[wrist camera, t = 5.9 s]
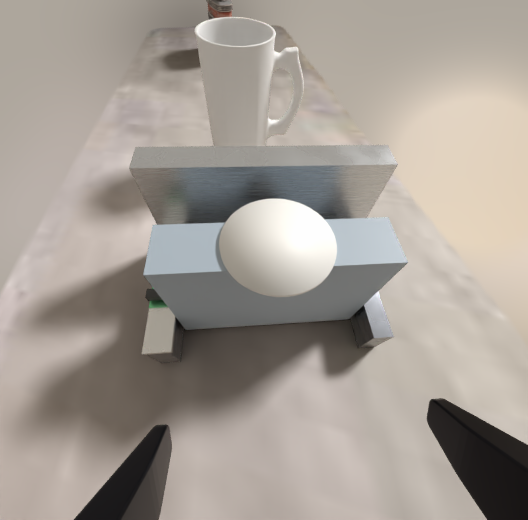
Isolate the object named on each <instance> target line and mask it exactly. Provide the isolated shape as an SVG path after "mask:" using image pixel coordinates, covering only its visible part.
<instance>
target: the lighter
mask: <svg viewBox="0 0 528 520" xmlns="http://www.w3.org/2000/svg"><path fill="white" fill-rule="evenodd" d="M207 2H208V16H209V20H210V19H214V18H221V17H232V14H231V11H232V10H233V8H232V1H231V0H207Z"/></svg>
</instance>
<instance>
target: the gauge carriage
mask: <svg viewBox="0 0 528 520" xmlns="http://www.w3.org/2000/svg"><path fill="white" fill-rule="evenodd" d="M407 263H408V261H407V259H406V256H405V254H404V252H403V250H402V247H401V245H400V243H399V241H398V238H397V236H396V234H395V232H394V229H393V227H392V225H391V222H390V220H389V218H388V217H382V218H351V219H323V217H322V216H320V215H319V214H318V213H317V212H315V211H314V210H313V209H311V208H309V207H307V206H305V205H303V204H301V203H298V202H295V201H291V200H286V199H263V200H258V201H255V202H252V203H249V204H247V205H245V206H243V207H241V208H240V209H238V210H237V211H235V212H234V213H233V214H232V215H231V216H230V217H229V218H228V220H227V221H226V223H197V224H166V225H153V227H152V232H151V237H150V243H149V248H148V253H147V258H146V263H145V268H144V274H143V275H144V277H145V278H146V279H147V281H148V282H149V283H150V284H151V286H152V287H153V288H154V289H147V291H146V297H145V298H146V299H147V300H148V301H157V300H163V301H164V302H165V304H166V305H167V306H168V308H169V309H170V310H171V311H172V313H173V314H174V315H175V317H176V318H177V319H178V320H179V322H180V323H181V324H182V326H183V327H184V328H185V329H186V330H193V329H208V328H223V327H238V326H254V325H269V324H284V323H299V322H314V321H330V320H345V319H350V318H351V317H352V316H353V315H354V314H355V313H356V312H357V311H358V310H359V309H360V308H361V307H362V306H363V305H364V304H365V303H366V302H367V301H368V300H369V299H370V298H372V297H373V296H374V295H375V294H376V293H377V292H378V291H379V290H380V289H381V288H382V287H383V286H384V285H385V284H386V283H387V282H388V281H389V280H390V279H391V278H392V277H393V276H394V275H396V274H397V273H398V272H399V271H400V270H401V269H402V268H403V267H404V266H405V265H406V264H407Z"/></svg>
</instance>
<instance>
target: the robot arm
mask: <svg viewBox="0 0 528 520" xmlns="http://www.w3.org/2000/svg"><path fill="white" fill-rule="evenodd" d="M427 422H428V425H429V427H430V428H431V430H432V432H433V434H434V435H435V437H436V439H437V441H438V442H439V444H440V446H441V448H442V449H443V451H444V453H445V455H446V456H447V458H448V460H449V462H450V463H451V465H452V467H453V469H454V470H455V472H456V474H457V475H458V477H459V478H460V480H461V481H462V483H463V484H464V486H465V487H466V489H467V490H468V492H469V493H470V495H471V496H472V498H473V499H474V501H475V502H476V504H477V505H478V507H479V508H480V510H481V511H482V513H483V514H484V516H485V517H486V519H487V520H528V445H527V444H525V443H523V442H521V441H519V440H518V439H516V438H514V437H512V436H510V435H509V434H507V433H505V432H503V431H501V430H499V429H498V428H496V427H494V426H492V425H490V424H489V423H487V422H485V421H483V420H481V419H480V418H478V417H476V416H474V415H472V414H471V413H469V412H467V411H465V410H463V409H461V408H460V407H458V406H456V405H454V404H452V403H451V402H449V401H447V400H445V399H442V398H439V399H431V400H430V402H429V407H428V413H427ZM171 451H172V442H171V435H170V429H169V426H168V425H157V426H155V427H154V428H153V429H152V430H151V431H150V432H149V433H148V434H147V436H146V437H145V438H144V439H143V440H142V441H141V442H140V444H139V445H138V446H137V447H136V448H135V449H134V451H133V452H132V453H131V454H130V455H129V456H128V458H127V459H126V460H125V461H124V462H123V463H122V464H121V466H120V467H119V468H118V469H117V470H116V471H115V473H114V474H113V475H112V476H111V477H110V478H109V480H108V481H107V482H106V483H105V484H104V485H103V487H102V488H101V489H100V490H99V491H98V492H97V493H96V495H95V496H94V497H93V498H92V499H91V500H90V502H89V503H88V504H87V505H86V506H85V507H84V509H83V510H82V511H81V512H80V513H79V514H78V515H77V517H76V518H75V519H74V520H159V516H160V512H161V506H162V501H163V496H164V490H165V485H166V479H167V473H168V468H169V462H170V457H171Z"/></svg>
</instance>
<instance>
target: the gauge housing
mask: <svg viewBox="0 0 528 520" xmlns="http://www.w3.org/2000/svg"><path fill="white" fill-rule="evenodd" d="M397 165H398V164H397V162H396V160H395V158H394V156H393V154H392V153H391V151H390V149H389V147H388V145H335V146H210V147H135V151H134V154H133V157H132V161H131V164H130V167H129V169H130V171H131V173H132V175H133V177H134V179H135V181H136V183H137V185H138V187H139V189H140V191H141V193H142V195H143V197H144V199H145V201H146V203H147V205H148V207H149V209H150V211H151V213H152V215H153V217H154V219H155V221H156V223H157V225H166V224H197V223H226V221H227V220H228V218H229V217H230V216H231V215H232V214H233V213H234V212H235V211H237V210H238V209H240V208H241V207H243V206H245V205H247V204H249V203H252V202H255V201H258V200H263V199H286V200H291V201H295V202H298V203H301V204H303V205H305V206H307V207H309V208H311V209H313V210H314V211H315V212H317V213H318V214H319V215H320V216H322V217H323V219H351V218H367V216H368V214H369V213H370V211H371V209H372V207H373V206H374V204H375V202H376V201H377V199H378V197H379V196H380V194H381V192H382V191H383V189H384V187H385V185H386V184H387V182H388V180H389V179H390V177H391V175H392V174H393V172H394V170H395V169H396V167H397ZM152 289H154V288H153V287H152ZM350 320H351V323H352V327H353V331H354V335H355V338H356V342H357V346H358V348H364V347H375V346H377V345H379V344H381V343H383V342H385V341H387V340H389V339H390V338H392V337H394V336H393V333H392V330H391V327H390V324H389V322H388V319H387V316H386V313H385V310H384V307H383V304H382V301H381V298H380V296H379V293H378V292H377V293H376V294H375V295H374V296H373V297H372V298H370V299H369V300H368V301H367V302H366V303H365V304H364V305H363V306H362V307H361V308H360V309H359V310H358V311H357V312H356V313H355V314H354V315H353V316H352V317H351V318H350ZM183 328H184V327H183V326H182V324H181V323H180V322H179V320H178V319H177V318H176V317H175V315H174V314H173V313H172V311H171V310H170V309H169V308H168V306H167V305H166V304H165V302H164V301H163V300H157V301H150V303H149V312H148V318H147V324H146V330H145V336H144V342H143V348H142V354H143V355H148V356H150V357H152V358H153V359H155V360H157V361H159V362H160V363H165V362H179V361H181V350H182V339H183Z"/></svg>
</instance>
